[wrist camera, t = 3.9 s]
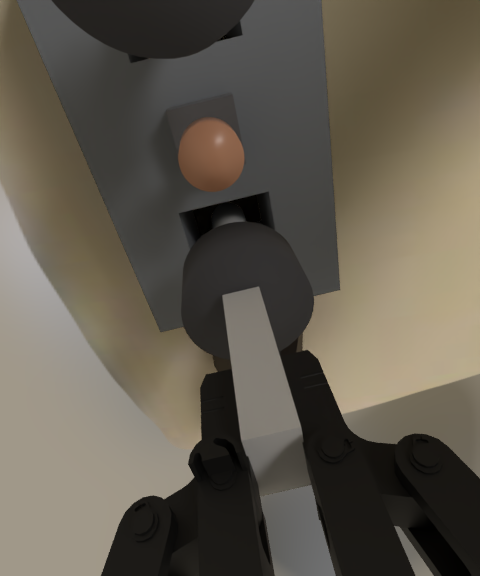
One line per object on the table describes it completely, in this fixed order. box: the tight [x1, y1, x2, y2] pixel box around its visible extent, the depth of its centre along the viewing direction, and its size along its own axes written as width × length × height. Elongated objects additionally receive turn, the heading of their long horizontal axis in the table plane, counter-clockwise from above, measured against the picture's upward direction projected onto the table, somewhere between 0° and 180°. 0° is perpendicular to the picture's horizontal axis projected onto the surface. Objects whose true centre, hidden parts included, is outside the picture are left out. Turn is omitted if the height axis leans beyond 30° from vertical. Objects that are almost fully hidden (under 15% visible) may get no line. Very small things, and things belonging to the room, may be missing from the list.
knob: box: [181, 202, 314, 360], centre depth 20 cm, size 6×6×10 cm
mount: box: [17, 0, 340, 332], centre depth 21 cm, size 22×12×8 cm, turn 12°
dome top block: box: [166, 93, 246, 192], centre depth 15 cm, size 3×3×5 cm
